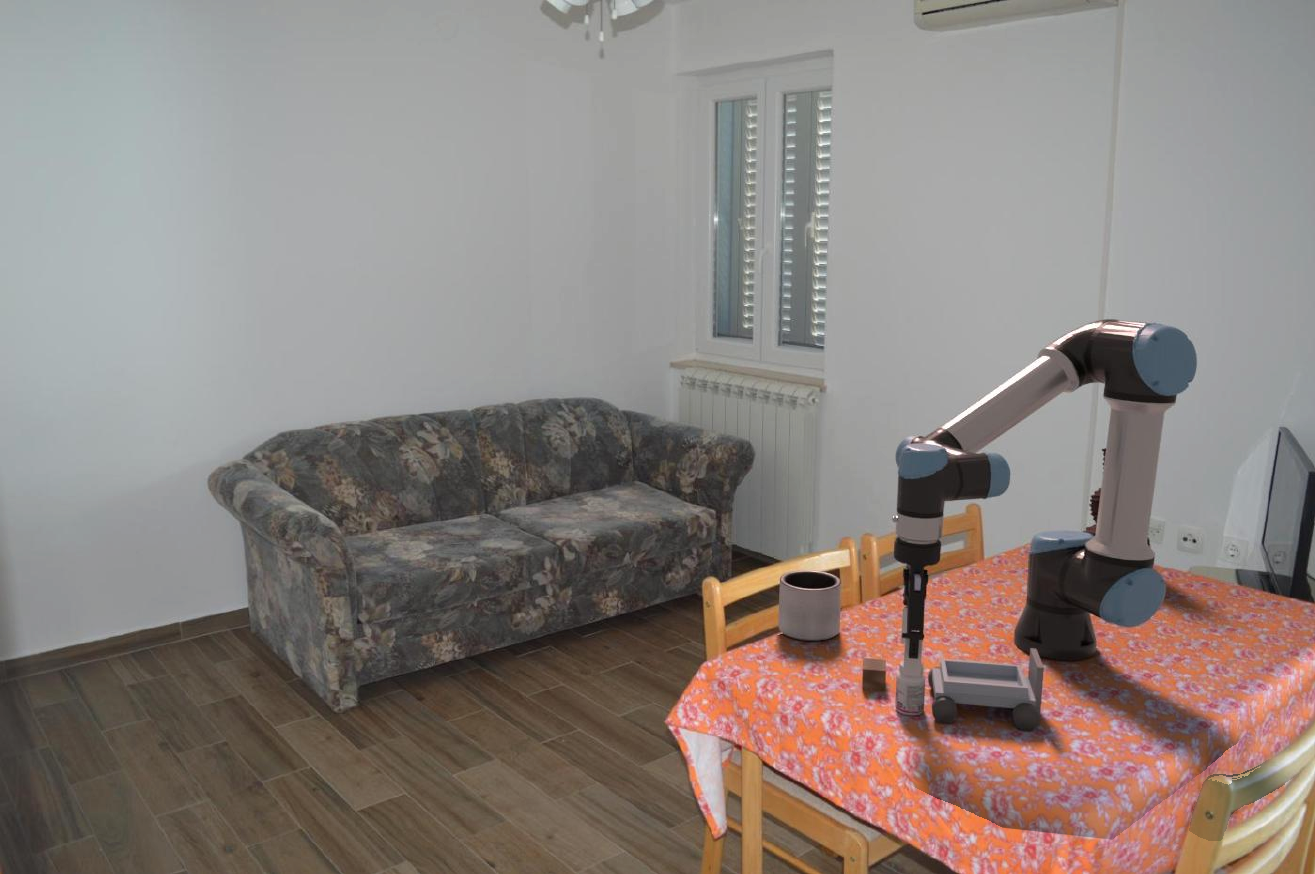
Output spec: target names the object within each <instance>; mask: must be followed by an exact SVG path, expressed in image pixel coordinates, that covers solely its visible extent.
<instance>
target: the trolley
mask: <svg viewBox="0 0 1315 874" xmlns="http://www.w3.org/2000/svg"><path fill="white" fill-rule="evenodd" d="M1028 659H1029V661H1028V673H1027V674H1028V675H1025V674H1024V672H1023V669H1022V666H1021V665H1020V664H1013V663H1012V664H1011V663H1002V662H1001V663H998V662H987V661H975V660H974V661H973V660H961V659H950V658H940V660H939V666H936V667H932V668H931V669H930V670H929V671H928V674H927V679H928V685H929V688H931V689H932V691H933V695H934V696H933V697H934V699H933V701H932V704H931V711H932V713H931V714H932V717H933V718H934V719H935V721H936V722H938V723H940V724H944V725H946V724H950V723H952V722H954V721H955V720H956V718H957V717H958V708H957V704H960V705H961V704H963V705H972V706H973V705H974V706H983V707H984V706H985V707H996V708H1009V709H1012V719H1013V723H1014V724H1015V726H1016V727H1017V728H1018V729H1019V730H1021V731H1024V732H1031V731H1034V730H1036V729H1037V728H1038V727H1039V726H1040V722H1041V710H1042V709H1041V707H1042V706H1041V705H1042V696H1043V683H1044V670H1045V669H1044V668H1045V667H1044V665H1043V662H1042V659H1041V657H1039V654H1038V652H1037V649H1034V648H1030V653H1029V658H1028Z"/></svg>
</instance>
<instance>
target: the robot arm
mask: <svg viewBox="0 0 1315 874" xmlns="http://www.w3.org/2000/svg"><path fill="white" fill-rule="evenodd" d="M1197 357H1198V356H1197V353H1196V348H1195V346H1194V344H1193V342H1192V340H1191V339H1189V338H1188V335H1187V334H1186V333H1185V332H1184V331H1183V330H1181V329H1180V328H1177V327H1175V326H1169V325H1166V324H1161V323H1156V322H1153V323H1152V322H1141V321H1128V320H1120V319H1114V318H1110V319H1109V318H1107V319H1099V320H1094V321H1092V322H1089V323H1086V324H1083V325H1081V326H1079V327H1077V328H1075V329H1073V330H1071V331H1069V332H1067V333H1065V334H1064V335H1062V336H1060V337H1058V338H1056V339H1055V340H1054V341H1052V342H1051V343H1049V344H1048V345H1047V346H1044V347H1043V348H1042V349H1040V351H1039V352H1038V354H1037V359H1036V360H1034V361H1033V362H1031V363H1029V365H1027V366H1026V367H1024V368H1023V369H1021V370H1020V371H1019V372H1017V373H1016V374H1014V375H1013V376H1011V377H1010V378H1009V379H1007V380H1005V381H1004V382H1003V383H1001V384H1000V385H998V386H997V387H995V388H994V389H992V390H991V391H990V392H988V393H987V394H986V395H985V394H984V396H983V397H980V398H979V399H978V400H977V401H975V402H974V403H973V404H971V405H969V406H968V407H967V408H965V409H964V410H962V411H961V412H959V413H958V414H956V415H955V416H953V417H952V418H950V419H949V420H947V421H946V422H945V423H944V424H942V425H941V426H939V427H938V428H936V429H935V430H933V431H932V432H930V433H929V434H927V435H926V436H922V435H911V436H908V437H906V438H904V439H902V440H901V442H900V443H899V444H898V446H897V448H896V451H895V462H896V467H897V468H898V469H897V495H896V515H895V516H892V517H891V521H892V522H893V523H895V534H896V536H895V538H894V542H893V543H894V544H893V558H894V559H895V561H897V562H898V563H901V564H902V565H903V564H904V565H906V567H903V569H902V578H903V582H902V583H903V593H902V597H903V600H902V604H903V606H902V616H901V631H900V632H901V633H900V644H904V651H903V653H904V654H903V660H904V665H903V675H910V676H920V672H921V663H922V656H923V655H922V653H923V641H924V640H925V639H924V638H925V633H924V631H925V629H924V628H925V626H924V625H925V603H926V598H927V593H928V591H927V590H928V589H927V586H928V584H929V574H928V569H925V567H928V566H929V567H932V566H936V565H937V564H939V563H940V561H941V554H942V553H941V552H942V541H941V540H940V539H942V537H943V528H944V527H943V526H944V515H945V514H944V510H945V502H953V501H954V502H955V501H966V500H968V501H969V500H979V499H981V500H986V499H991V498H995V497H1000V496H1002V495H1003V494H1004V493H1006V491H1008V489H1009V486H1010V484H1011V469H1010V466H1009V463H1008V461H1007V460H1006V459H1005V457H1003V455H1002V454H999V453H996V452H986V451H983V452H980V450H982V449H983V448H985V447H986V446H988V445H990V443H992V442H993V441H995V440H997V439H998V438H1000V437H1001V436H1002V435H1004V434H1005V433H1006V432H1008V431H1009V430H1011V429H1012V428H1013V427H1016V425H1018V424H1019V423H1021V422H1022V421H1024V420H1026V419H1027V418H1028V417H1030V416H1031V415H1032V414H1034V413H1035V412H1037V411H1038V410H1039V409H1041V408H1042V407H1044V406H1045V405H1048V403H1050V402H1051V401H1052V400H1054V399H1056V398H1057V397H1058V396H1059V395H1061V394H1063V393H1067V394H1069V393H1074V392H1075V391H1076V390H1078V389H1079V388H1080V387H1083V386H1085V385H1089V384H1093V383H1094V384H1095V383H1101V384H1104V386H1103V387H1104V388H1103V394H1102V397H1103V399H1104V400H1105V401H1106V402H1107V404H1108V405H1109V406H1110V415H1109V423H1108V431H1107V439H1106V447H1105V448H1106V454H1105V462H1104V461H1103V463H1104V466H1103V467H1104V470H1103V471H1102V479H1101V480H1102V481H1101V487H1100V488H1101V494H1100V502H1099V511H1098V519H1097V527H1096V535H1095V537H1094V536H1093V535H1092V534H1089V533H1085V532H1083V531H1077V530H1076V531H1075V530H1049V531H1041V532H1039V533H1036V534H1035V535H1034V536H1033V537H1032V538H1031V541H1030V547H1029V551H1028V564H1027V565H1028V566H1027V568H1028V569H1027V579H1026V580H1027V582H1026V583H1027V585H1026V600H1025V601H1026V602H1025V606H1024V607H1023V610H1022V612H1021V614H1020V616H1019V619H1018V621H1017V623H1016V626H1015V629H1014V633H1013V634H1014V635H1013V642H1014V644H1015V645H1016V646H1017V647H1018V648H1019V649H1020V650H1022V651H1024V652H1026V653H1029V654H1030V648H1034V649H1037V652H1038V654H1039V657H1040V658H1044V659H1049V660H1055V661H1071V662H1073V661H1082V660H1086V659H1090V658H1091V657H1093V656H1094V655H1096V652H1097V637H1096V633H1095V629H1094V626H1093V621H1092V618H1091V615H1093V616H1095V617H1098V618H1099V619H1101V620H1103V621H1104V622H1106V623H1108V624H1113V625H1116V626H1119V627H1120V628H1135V627H1139V626H1141V625H1143V624H1145V623H1147V622H1148V621H1149V620H1150V619H1151V618H1152V617H1153V616H1155V615H1156V614H1157V613H1158V611H1159V610H1160V609H1161V606H1162V605H1163V603H1164V600H1165V597H1166V591H1167V587H1166V586H1167V585H1166V580H1165V579H1164V578H1163V576H1162V574H1161V573H1160V572H1159V571H1157V569H1154V566H1155V557H1156V552H1155V551H1154V550H1153V549H1152V548H1150V547H1149V546H1148V544H1147V540H1148V538H1149V532H1150V524H1151V516H1152V508H1153V501H1154V495H1155V494H1154V492H1155V487H1156V478H1157V472H1158V471H1157V470H1158V464H1159V457H1160V455H1159V454H1160V449H1161V442H1162V435H1163V433H1162V432H1163V425H1164V419H1165V413H1166V412H1167V410H1169V409H1170V408H1172V407H1173V406H1175V405H1176V401H1177V397H1178V395H1179V394H1182V393H1183V392H1184V391H1186V390H1187V389H1188V388H1189V387H1190V383H1192V382H1193V380H1194V378H1195V375H1196V372H1197V367H1198V366H1197V365H1198V360H1197ZM978 452H980V453H978Z"/></svg>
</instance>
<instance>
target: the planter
mask: <svg viewBox="0 0 1315 874" xmlns="http://www.w3.org/2000/svg"><path fill="white" fill-rule="evenodd" d="M778 593H779V598H778V619H777V620H778V622H777V623H778V624H777V625H778V629H779V631H780V632H781V633H782V634H783V635H785V636H787V637H789V638H791V639H794V640H798V641H803V642H804V641H805V642H819V641H820V642H821V640H823V641H827V640H830V639H832V638H834V637H836V636H837V635H838V634H839V633H840V629H841V600H842V599H841V597H842V580H841V579H840V577H838V576H837V575H834V574H832V573H829V572H826V571H823V570H822V571H821V570H814V569H813V570H811V569H810V570H808V569H806V570H805V569H801V570H791V571H788V572H786V573H784V574H782V575H781V576H780V578H779V592H778ZM826 639H827V640H826Z"/></svg>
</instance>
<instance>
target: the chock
mask: <svg viewBox="0 0 1315 874" xmlns="http://www.w3.org/2000/svg"><path fill="white" fill-rule="evenodd" d="M886 664H887V663H886V659H880V658H869V657H863V659H862V680H861V681H862V682H861V683H862V684H861V686H862V687H861V690H862V689H863V690H862V691H873V692H874V691H875V692H876V691H877V692H886V679H887V678H886V677H887V676H886V675H887V665H886Z"/></svg>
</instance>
